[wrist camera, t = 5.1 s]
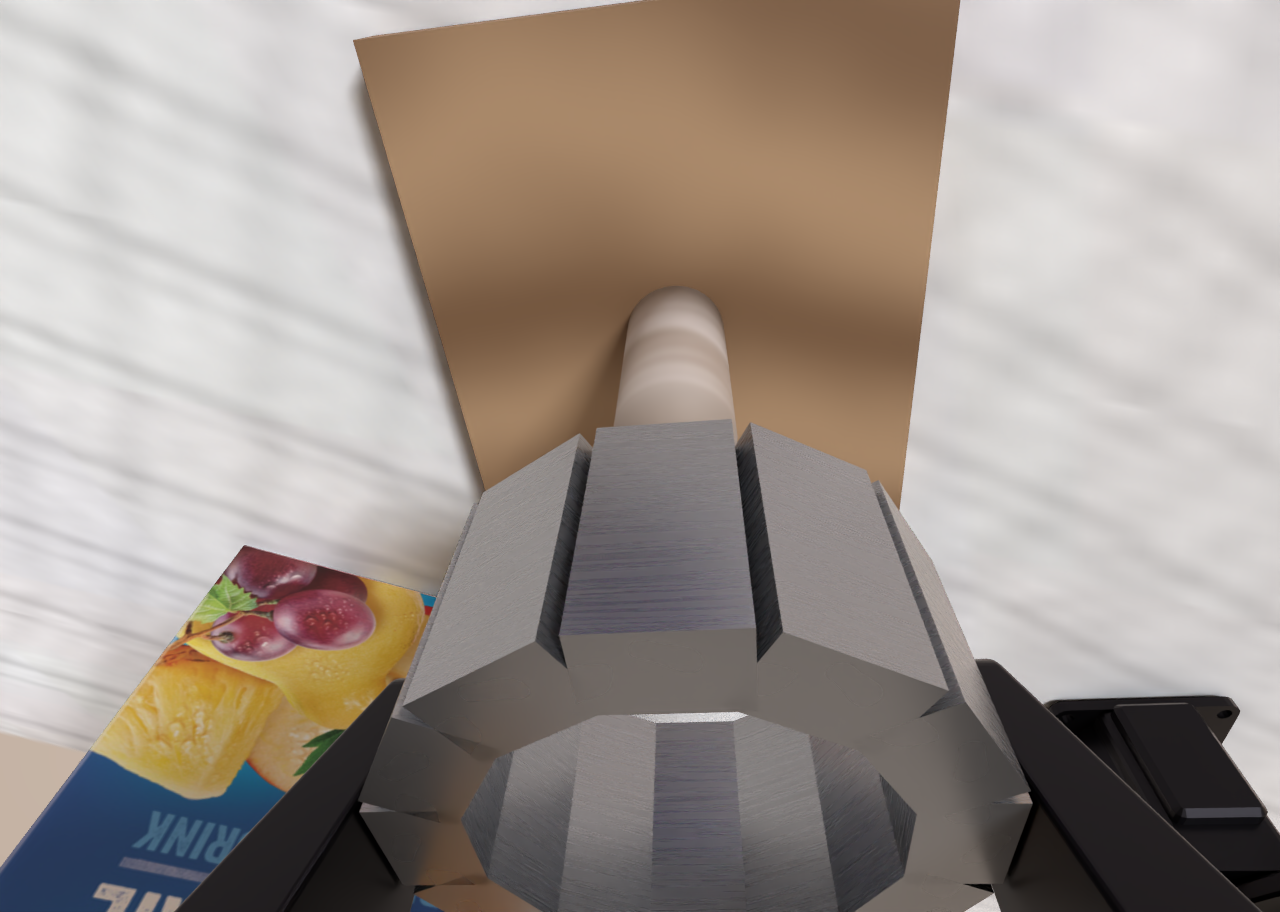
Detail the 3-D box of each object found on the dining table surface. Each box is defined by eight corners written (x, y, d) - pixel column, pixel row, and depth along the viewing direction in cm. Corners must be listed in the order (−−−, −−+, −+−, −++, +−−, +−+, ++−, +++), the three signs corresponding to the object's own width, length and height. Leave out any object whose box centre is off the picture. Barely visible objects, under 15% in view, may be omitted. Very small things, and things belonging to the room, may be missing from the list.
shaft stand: (887, 506, 22) (949, 668, 17) (511, 528, 23) (463, 685, 18) (944, -40, 14) (1094, -46, 9) (373, 36, 15) (222, 68, 10)
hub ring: (902, 756, 11) (966, 981, 9) (504, 764, 12) (458, 975, 9) (963, 403, 8) (1102, 615, 5) (386, 442, 8) (258, 646, 6)
